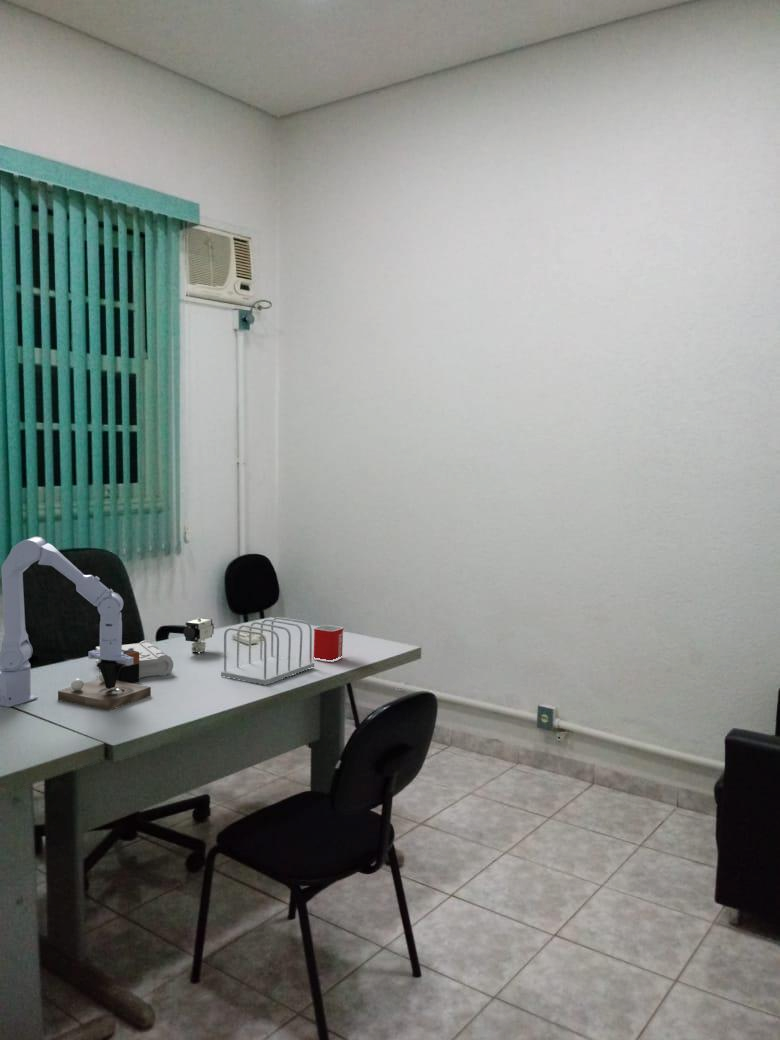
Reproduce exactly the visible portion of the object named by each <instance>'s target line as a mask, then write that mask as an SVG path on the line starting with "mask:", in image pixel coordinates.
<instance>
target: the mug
mask: <svg viewBox="0 0 780 1040" xmlns="http://www.w3.org/2000/svg"><path fill="white" fill-rule="evenodd" d="M344 629H345V628H344V627H343V626H337V625H329V624H322V625H318V626H316V627H313V631H314V632H313V635H314V636H313V658H314V657H315V658H320V659H326V660H333V659H336V658H338V657H341V656H342V657H343V646H344V645H343V641H344V639H343V638H344Z"/></svg>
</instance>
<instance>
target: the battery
mask: <svg viewBox="0 0 780 1040" xmlns="http://www.w3.org/2000/svg"><path fill="white" fill-rule="evenodd" d="M122 652H123V654H125V655H127V656H130V657H133V664H132V665H129V666H127V665H126V664H124V665H123V667H122V668H121V670H120V672H119V675H118V677H117V681H122V682H127V683H132V684H137V683H139V682H140V677H139V652H137V651H134V649H133V648H130V649H128V650H127V651H125V650H122ZM136 682H137V683H136Z"/></svg>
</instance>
